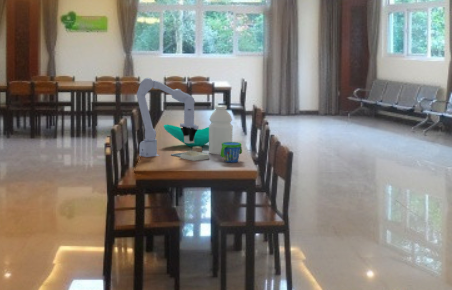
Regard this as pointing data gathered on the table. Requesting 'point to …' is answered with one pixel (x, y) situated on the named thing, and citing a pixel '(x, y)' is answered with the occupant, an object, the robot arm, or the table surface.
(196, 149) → the tan cube
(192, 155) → the cream cube
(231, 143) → the snack cup
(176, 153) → the parts tray
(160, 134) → the table surface
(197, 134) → the table top decor
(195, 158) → the dish
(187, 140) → the light grey cube
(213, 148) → the bottle
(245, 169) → the table surface
